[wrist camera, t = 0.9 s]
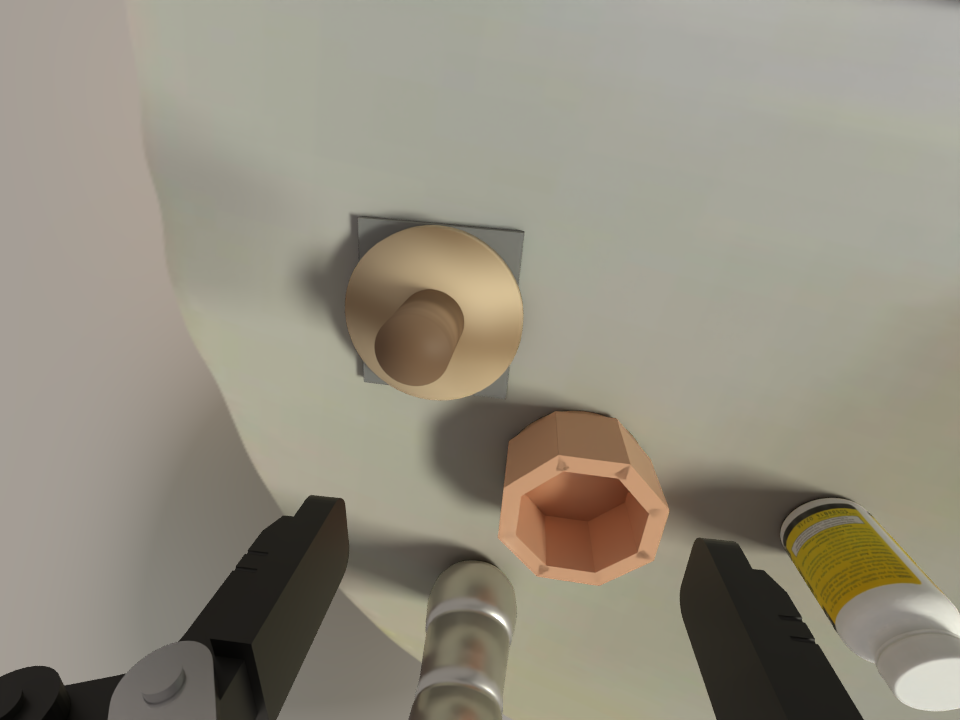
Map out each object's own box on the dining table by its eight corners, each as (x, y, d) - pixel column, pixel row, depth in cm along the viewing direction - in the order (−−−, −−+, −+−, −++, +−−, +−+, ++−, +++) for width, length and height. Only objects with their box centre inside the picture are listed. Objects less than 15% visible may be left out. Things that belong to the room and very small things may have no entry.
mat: (361, 216, 25) (357, 217, 24) (524, 231, 24) (523, 233, 24) (367, 377, 29) (363, 381, 29) (506, 394, 28) (505, 399, 28)
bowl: (513, 402, 29) (508, 448, 24) (658, 420, 28) (682, 471, 23) (500, 512, 32) (494, 569, 28) (628, 530, 32) (643, 592, 27)
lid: (348, 216, 24) (299, 231, 19) (533, 233, 24) (531, 254, 19) (356, 380, 29) (317, 428, 23) (513, 400, 28) (508, 454, 23)
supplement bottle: (759, 538, 31) (849, 693, 22) (816, 481, 28) (944, 629, 19) (827, 569, 31) (944, 734, 22) (889, 516, 29) (1047, 676, 20)
